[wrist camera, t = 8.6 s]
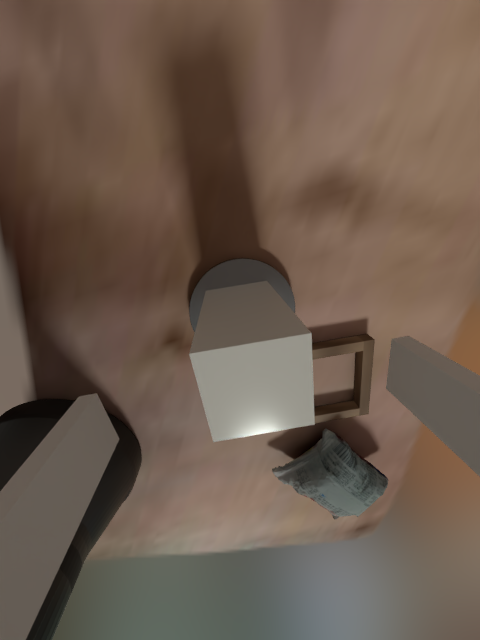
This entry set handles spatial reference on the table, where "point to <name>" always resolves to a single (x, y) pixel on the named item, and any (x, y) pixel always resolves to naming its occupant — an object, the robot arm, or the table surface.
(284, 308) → the grey block
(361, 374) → the walnut holder
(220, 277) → the grey disc
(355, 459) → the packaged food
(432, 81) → the table surface
